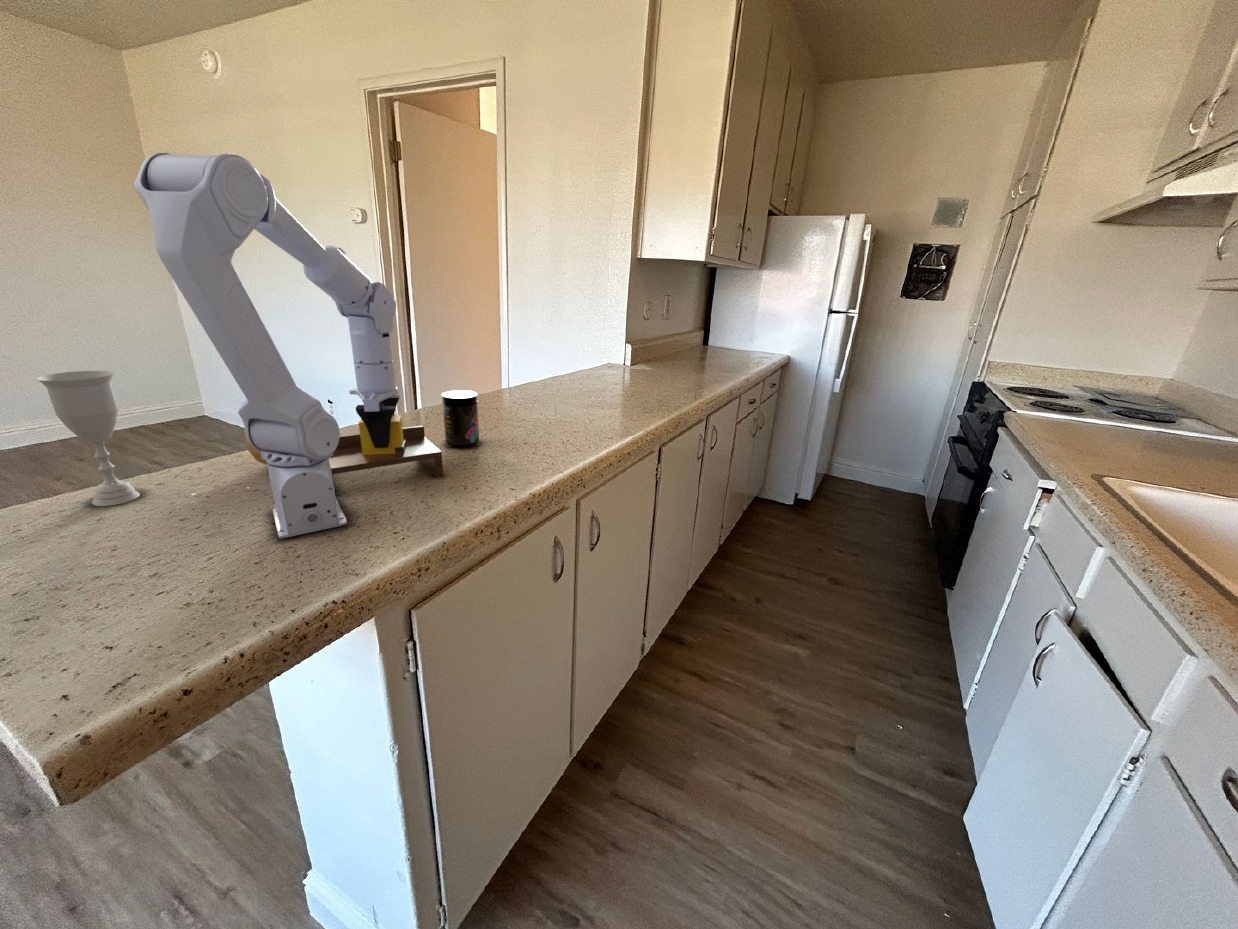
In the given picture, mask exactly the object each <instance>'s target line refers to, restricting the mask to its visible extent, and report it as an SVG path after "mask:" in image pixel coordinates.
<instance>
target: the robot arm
mask: <svg viewBox="0 0 1238 929" xmlns="http://www.w3.org/2000/svg"><path fill="white" fill-rule="evenodd" d="M133 188H134V189H135V191H136V193H137V194H138V196H139V198H140V200H141V201H142V202H143V205H144V207H145V208H146V209H147V212H148V213H149V219H150V223H151V224H150V225H151V228H152V234H153V238H154V244H155V249H156V252H157V254H158V257H159V258H160V261H161V262H162V264H163V265H164V267H165V269H166V271H167V272H168V274H169V275H170V277H171V278H172V280H173V282H174V284H175V285H176V287H177V288H178V290H179V292H180V293H181V295H182V297H183V298H184V300H185V301H186V303H187V304H188V306H189V307H190V309H191V311H192V313H193V314H194V316H195V317H196V319H197V321H198V322H199V324H200V325H201V327H202V329H203V330H204V332H205V333H206V335H207V336H208V337H207V338H209V340H210V341H211V343H212V345H213V346H214V348H215V349H216V351H217V353H218V355H219V356H220V358H221V359H222V361H223V363H224V364H225V366H226V367H227V369H228V372H230V374H231V376H232V377H233V379H234V381H235V383H237V386H238V387H239V389H240V391H241V392H242V394H243V396H244V397H245V398H246V400H245V401H244V402H243V403H242V405H241V406H240V408H239V409H238V411H237V413H238V416H239V418H240V419H241V420H242V422H243V426H244V435H246V438H247V441H248V442H249V444H250V445H251V446H252V447H253V448H254V449H256V450H258V451H260V453H261V457H262V459H264V460H266V462H267V465H266V467H267V472H268V477H269V481H270V486H271V491H272V496H273V501H274V505H275V508H273V509H272V514H273V518H274V523H275V528H276V532H277V536H278V538H279V539H287V538H291V537H296V536H301V535H305V534H310V533H315V532H318V531H319V532H320V531H324V530H328V529H329V530H330V529H334V528H337V527H342V526H346V525H347V524H348V520H347V518H346V516H345V513H344V511H343V510H342V508H341V506H340V504H339V502H338V499H337V498H336V492H335V486H334V478H333V474H332V472H331V466H330V460H329V457H331V456H333V452H334V451H335V449H336V448H337V445H338V443H339V438H340V436H341V433H340V431H341V430H340V426H339V423H338V421H337V419H336V418H335V417H334V416H333V415H331V414H330V413H329V412H328V411H326V410H325V408H324V406H323V405H322V403H321V401H320V400H319V399H318V398H316V397H314V396H313V395H312V394H310V393H309V392H307V391H305V390H304V389H303V388H300V387H299V385H297V384H296V381H295V380H294V378H293V376H292V374H291V372H290V371H289V369H288V367H287V365H286V364H285V361H284V359H283V357H282V356H281V353H280V352H279V350H278V348H277V346H276V344H275V342H274V340H273V338H272V336H271V335H270V333H269V330H268V329H267V328H266V325H265V324H264V322H263V319H262V317H261V316H260V314H259V312H258V309H257V308H256V305H255V304H254V302H253V301H252V299H251V297H250V295H249V293H248V291H247V289H246V288H245V285H244V284H243V282H242V279H241V278H240V276H239V274H238V273H237V270H236V269H235V267H234V265H233V263H232V260H233V257H234V254H235V252H236V250H237V249H239V248H241V246H242V244H244V242H245V241H246V240H247V239H248V237H249V236H250V235H251V234H252V232H253V231H255V232H258V233H259V234H260V235H262V236H263V237H265V238H266V239H267V240H269V241H270V242H272V243H273V244H274V245H275V246H276V247H279V249H281V250H283V251H284V252H285V253H287V254H288V255H290V256H291V257H292V258H294V259H295V260H296V261H298V262H299V263H300V264H302V268H303V273H304V276H305V278H306V279H307V280H308V281H310V282H311V283H313V284H314V285H315V286H316V287H317V288H319V289H320V290H321V291H323V292H324V293H325V294H326V295H328V296H329V297H330V298H331V300H332V301H334V303H335V305H336V308H337V311H338V312H339V314H340V315H341V316H342V317H345V318H346V319H347V322H348V329H349V337H350V343H351V352H352V359H353V360H352V361H353V368H354V375H355V383H356V387H350V388H349V389H348V393H349V395H356V396H357V397H358V398H359V399H361V401H362V403H363V404H357V405H356V406H355V412H356V414H357V415H358V417H359V418H360V420H361V419H362V420H363V422H364V424H365V425H366V427H367V430H368V432H369V435H370V438H371V441H372V443H373V445H374V447H375V448H387V447H388V446H389V441H390V425H391V419H392V415H395V413H396V409H397V405H398V402H399V401H400V395H399V394H398V393H399V390H398V387H397V383H396V374H395V373H396V372H395V364H394V363H395V362H394V354H393V344H392V337H391V333H392V332H393V329H395V328H394V327H395V326H394V317H395V315H396V312H397V311H396V310H397V301H396V300H395V298H394V295H393V293H392V291H391V289H390V288H388V287H387V286H386V285H385V284H384V283H383V282H379V281H373V280H372V279H371V278H370V277H369V276H368V274H367V273H366V272H365V271H364V270H362V269H360V268H359V267H358V266H357V265H356V264H355V263H354V262H353V261H352V260H351V259H349V258H348V256H347V255H346V254H347V252H346V251H344V249H343V248H341V247H339V246H338V247H336V246H335V245H330V244H325V245H322V244H321V242H319V240H317V239H316V238H315V237H314V236H313V235H312V233H311V232H310V231H309V230H307V228H306V227H305V226H304V225H303V224H302V223H301V222H300V221H299V220H298V219H297V218H296V217H295V216H294V215H293V214H292V213H291V212H290V211H289V210H288V209H287V207H286V206H284V204H282V203H281V201H279V199H278V198H277V197H276V195H275V190H274V187H273V184H272V182H271V181H270V180H269V178H267V177H265V176H264V175H263V174H261V173H260V172H259V170H258V169H257V168H256V167H255V166H254V165H253V164H252V162H250V161H249V160H247V159H246V158H245V157H243V156H242V155H239V154H236V153H232V152H226V153H225V152H224V153H218V154H176V153H175V154H174V153H173V154H172V153H169V152H155V153H152V154H150V155H148V156H147V157H146V158H145V159H144V160H143V162H142V164H141V166H140V168H139V170H138V173H137V176H136V179H135V181H134V184H133Z"/></svg>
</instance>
